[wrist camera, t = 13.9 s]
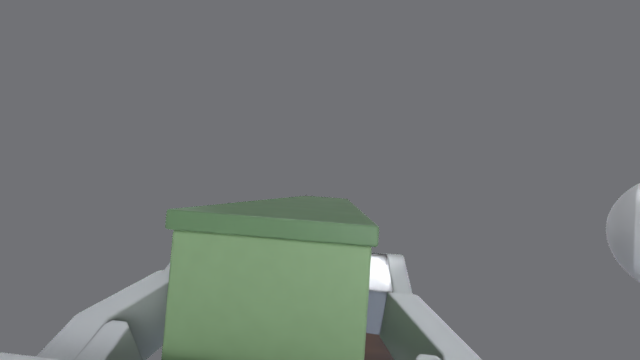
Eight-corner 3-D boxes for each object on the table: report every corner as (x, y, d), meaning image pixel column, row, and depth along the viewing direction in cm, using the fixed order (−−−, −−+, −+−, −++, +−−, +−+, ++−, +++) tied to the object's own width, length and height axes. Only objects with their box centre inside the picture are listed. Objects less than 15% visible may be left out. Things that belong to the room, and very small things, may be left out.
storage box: (344, 244, 30) (347, 198, 30) (363, 472, 5) (379, 226, 6) (301, 240, 30) (305, 195, 30) (144, 442, 6) (165, 209, 6)
